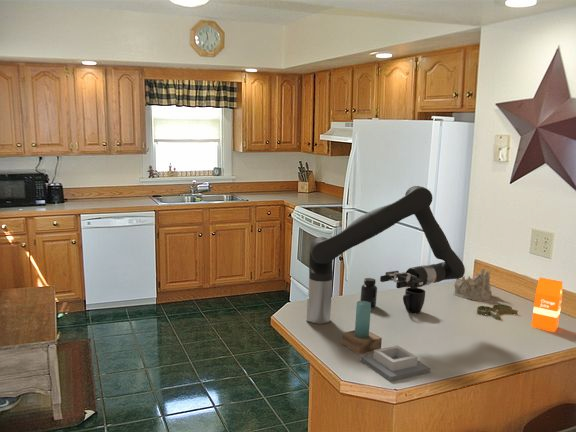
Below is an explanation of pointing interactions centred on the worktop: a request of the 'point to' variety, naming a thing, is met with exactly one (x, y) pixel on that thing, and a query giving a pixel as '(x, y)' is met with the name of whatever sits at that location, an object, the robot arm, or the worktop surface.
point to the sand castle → (474, 287)
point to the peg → (362, 319)
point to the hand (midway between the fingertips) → (388, 282)
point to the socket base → (395, 363)
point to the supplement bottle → (369, 291)
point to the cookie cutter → (500, 309)
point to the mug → (414, 300)
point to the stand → (361, 342)
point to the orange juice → (547, 304)
